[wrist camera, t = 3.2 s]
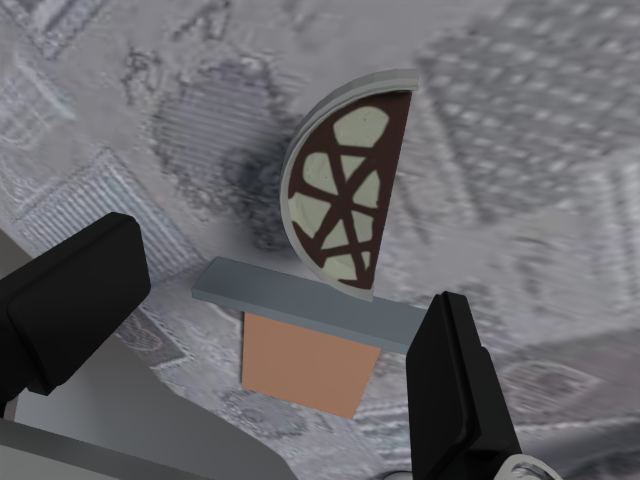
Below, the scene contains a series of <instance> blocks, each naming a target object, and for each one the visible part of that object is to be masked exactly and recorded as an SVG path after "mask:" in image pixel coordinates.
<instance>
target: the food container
mask: <svg viewBox="0 0 640 480" xmlns="http://www.w3.org/2000/svg"><path fill="white" fill-rule="evenodd" d="M418 82H419V70H418V69H394V70H388V71H383V72H377V73H372V74H370V75H367V76H364V77H361V78H358V79H355V80H353V81H351V82H349V83H347V84H345V85H343V86H341V87H340V88H338V89H336V90H334V91H333V92H332V93H330V94H329V95H328V96H326V97H325V98H324V99H323V100H321V101H320V102H319V103H317V105H316V106H315V107H314V108H313V109H312V110H311V111H310V112H309V113H308V114H307V115H306V116H305V118H304V119H303V120H302V122H301V124H300V125H299V127H298V128H297V130H296V131H295V133H294V134H293V137H292V139H291V141H290V143H289V146H288V148H287V150H286V154H285V158H284V162H283V166H282V170H281V174H280V181H279V193H278V194H279V207H280V212H281V216H282V221H283V224H284V228H285V231H286V233H287V236H288V238H289V241H290V243H291V245H292V246H293V248H294V250H295V251H296V253H297V255H298V256H299V258H300V259H301V260H302V261H303V262H304V264H305V265H306V266H307V267H308V268H309V269H310V270H311V271H312V272H313V273H314V274H315V275H316V276H318V277H319V278H320V279H321V280H323V281H324V282H326V283H327V284H329V285H330V286H332V287H333V288H335V289H337V290H339V291H341V292H343V293H345V294H348V295H350V296H353V297H356V298H358V299H362V300H366V301H370V302H372V301H373V290H374V280H375V269H376V264H377V259H378V255H379V250H380V245H381V240H382V235H383V230H384V226H385V221H386V217H387V212H388V207H389V202H390V197H391V192H392V187H393V182H394V178H395V173H396V169H397V164H398V160H399V155H400V150H401V145H402V141H403V136H404V131H405V126H406V121H407V116H408V111H409V106H410V101H411V96H412V92H411V91H413V90H418V88H419V87H418Z"/></svg>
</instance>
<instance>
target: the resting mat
mask: <svg viewBox="0 0 640 480" xmlns="http://www.w3.org/2000/svg"><path fill="white" fill-rule="evenodd" d="M380 351H381V348H377V347H373V346H369V345H366V344H362V343H358V342H355V341H351V340H347V339H343V338H340V337H336V336H332V335H329V334H325V333H321V332H317V331H314V330H310V329H306V328H302V327H299V326H295V325H291V324H288V323H284V322H280V321H276V320H273V319H269V318H265V317H262V316H258V315H254V314H250V313H247V312H245V322H244V346H243V371H242V388H244V389H248V390H251V391H255V392H258V393H262V394H265V395H269V396H272V397H276V398H279V399H282V400H286V401H289V402H293V403H296V404H300V405H303V406H307V407H310V408H314V409H317V410H320V411H324V412H327V413H331V414H334V415H338V416H341V417H345V418H348V419H353V416H354V414H355V411H356V409H357V406H358V404H359V402H360V399H361V397H362V394H363V392H364V389H365V387H366V385H367V382H368V380H369V377H370V375H371V372H372V370H373V368H374V365H375V363H376V360H377V358H378V355H379V353H380Z"/></svg>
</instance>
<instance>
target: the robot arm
mask: <svg viewBox="0 0 640 480" xmlns="http://www.w3.org/2000/svg"><path fill="white" fill-rule="evenodd" d="M150 289H151V284H150V278H149V273H148V267H147V262H146V257H145V251H144V246H143V241H142V235H141V230H140V225H139V224H138V223H137V222H136V220H135V218H134V217H132V216H129V215H125V214H121V213H117V212H111V213H108V214H107V215H105V216H104V217H102V218H100V219H99V220H97V221H95V222H94V223H92V224H91V225H89V226H87V227H86V228H84V229H82V230H81V231H79V232H78V233H76V234H74V235H73V236H71V237H69V238H68V239H66V240H64V241H63V242H61V243H60V244H58V245H56V246H55V247H53V248H51V249H50V250H48V251H47V252H45V253H43V254H42V255H40V256H38V257H37V258H35V259H33V260H32V261H30V262H29V263H27V264H25V265H24V266H22V267H20V268H19V269H17V270H16V271H14V272H13V273H11V274H9V275H8V276H6V277H4V278H3V279H1V280H0V480H214V479H210V478H206V477H203V476H200V475H196V474H193V473H190V472H186V471H183V470H179V469H176V468H172V467H169V466H165V465H162V464H158V463H155V462H152V461H148V460H145V459H142V458H138V457H135V456H131V455H128V454H124V453H121V452H117V451H114V450H110V449H107V448H104V447H100V446H97V445H93V444H90V443H86V442H83V441H79V440H76V439H72V438H69V437H65V436H62V435H58V434H55V433H51V432H48V431H44V430H41V429H37V428H34V427H30V426H27V425H23V424H20V423H16V422H14V419H15V413H16V407H17V402H18V396H19V393H21V392H22V391H23V390H24V388H26V387H27V389H28V390H29V391H31V392H34V393H38V394H41V395H45V396H48V395H49V394H50V393H51V392H52V391H53V390H54V389H55V388H56V387H57V386H59V385H62V384H64V383H65V382H66V381H67V380H68V379H69V378H70V377H71V376H72V375H73V374H74V373H75V372H76V371H77V370H78V369H79V368H80V367H81V365H82V364H83V363H84V362H85V361H86V360H87V359H88V358H89V357H90V356H91V355H92V354H93V353H94V352H95V351H96V350H97V349H98V348H99V347H100V346H101V345H102V343H103V342H104V341H105V340H106V339H107V338H108V337H109V336H110V335H111V334H112V333H113V332H114V331H115V330H116V329H117V328H118V327H119V326H120V324H121V323H122V322H123V321H124V320H125V319H126V318H127V317H128V316H129V315H130V314H131V313H132V312H133V311H134V310H135V309H136V308H137V306H138V305H139V304H140V303H141V302H142V301H143V300H144V299H145V298H146V297H147V296H148V294H149V292H150ZM406 375H407V392H408V410H409V427H410V444H411V461H412V477H413V480H563V479H562V478H561V477H560V476H559V475H558V474H557V473H556V472H555V471H554V470H553V469H551V468H550V467H549V466H547V465H546V464H545V463H543V462H542V461H540V460H538V459H536V458H534V457H532V456H529V455H523V454H522V451H521V448H520V445H519V442H518V439H517V436H516V433H515V430H514V427H513V424H512V421H511V418H510V415H509V412H508V409H507V406H506V403H505V400H504V396H503V393H502V390H501V387H500V384H499V381H498V378H497V375H496V372H495V369H494V366H493V363H492V360H491V357H490V354H489V352H488V350H487V349H486V348H485V347H482V346H481V343H480V340H479V336H478V333H477V330H476V327H475V323H474V320H473V317H472V314H471V311H470V307H469V304H468V301H467V298H466V297H465V296H464V295H460V294H456V293H452V292H447V291H444V292H443V293H442V294H441V295H439V294H436V295H435V297H434V298H433V300H432V302H431V305H430V307H429V309H428V311H427V313H426V315H425V317H424V319H423V321H422V323H421V325H420V327H419V329H418V331H417V333H416V335H415V337H414V339H413V341H412V343H411V345H410V347H409V349H408V352H407V355H406Z"/></svg>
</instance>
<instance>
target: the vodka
mask: <svg viewBox="0 0 640 480" xmlns="http://www.w3.org/2000/svg"><path fill="white" fill-rule="evenodd" d="M384 480H413V477H412V472H397V473H393V474H391V475H389V476H387V477H386V478H385V479H384Z"/></svg>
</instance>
